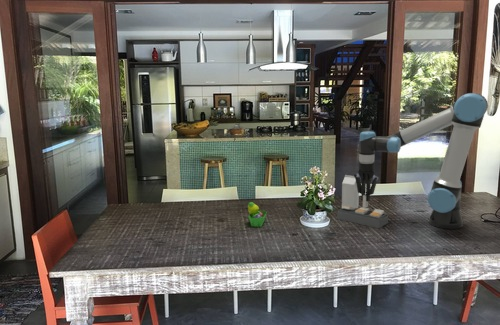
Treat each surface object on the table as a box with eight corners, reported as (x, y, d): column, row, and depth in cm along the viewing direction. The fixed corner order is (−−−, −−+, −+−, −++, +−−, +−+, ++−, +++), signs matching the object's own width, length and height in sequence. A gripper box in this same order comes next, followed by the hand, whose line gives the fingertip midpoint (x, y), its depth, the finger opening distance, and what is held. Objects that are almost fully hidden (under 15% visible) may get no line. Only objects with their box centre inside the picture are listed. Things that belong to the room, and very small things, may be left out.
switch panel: (387, 223, 202) (388, 213, 201) (378, 228, 195) (379, 218, 194) (347, 214, 218) (347, 205, 217) (337, 218, 211) (337, 209, 210)
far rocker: (355, 209, 212) (355, 207, 212) (349, 209, 207) (349, 206, 207) (347, 208, 215) (348, 205, 215) (341, 207, 210) (342, 205, 210)
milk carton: (353, 210, 225) (354, 177, 222) (341, 208, 229) (342, 176, 226) (358, 207, 230) (359, 175, 227) (346, 205, 235) (347, 174, 231)
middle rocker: (369, 210, 206) (369, 208, 206) (363, 214, 202) (363, 211, 201) (361, 209, 209) (361, 206, 209) (355, 212, 205) (355, 210, 204)
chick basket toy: (263, 227, 199) (263, 205, 197) (245, 226, 201) (245, 205, 199) (267, 220, 210) (266, 199, 208) (250, 219, 212) (250, 199, 210)
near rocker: (384, 212, 201) (383, 210, 200) (378, 218, 196) (378, 216, 196) (375, 210, 204) (375, 208, 203) (369, 216, 199) (369, 214, 199)
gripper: (382, 162, 202) (380, 207, 206) (358, 159, 211) (357, 202, 215) (375, 164, 196) (373, 211, 201) (351, 161, 205) (350, 206, 210)
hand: (365, 206), depth 208 cm, fingers closed
